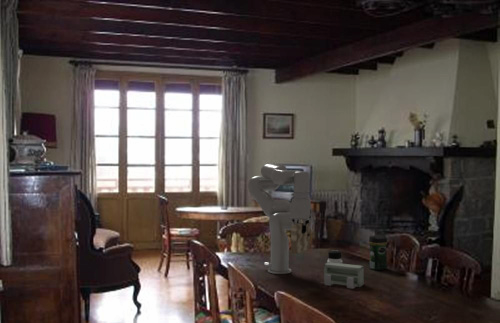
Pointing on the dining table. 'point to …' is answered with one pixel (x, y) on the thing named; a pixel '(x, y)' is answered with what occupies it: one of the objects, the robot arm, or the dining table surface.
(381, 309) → the dining table surface
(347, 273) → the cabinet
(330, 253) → the container
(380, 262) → the coffee jar
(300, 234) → the beige thin block
